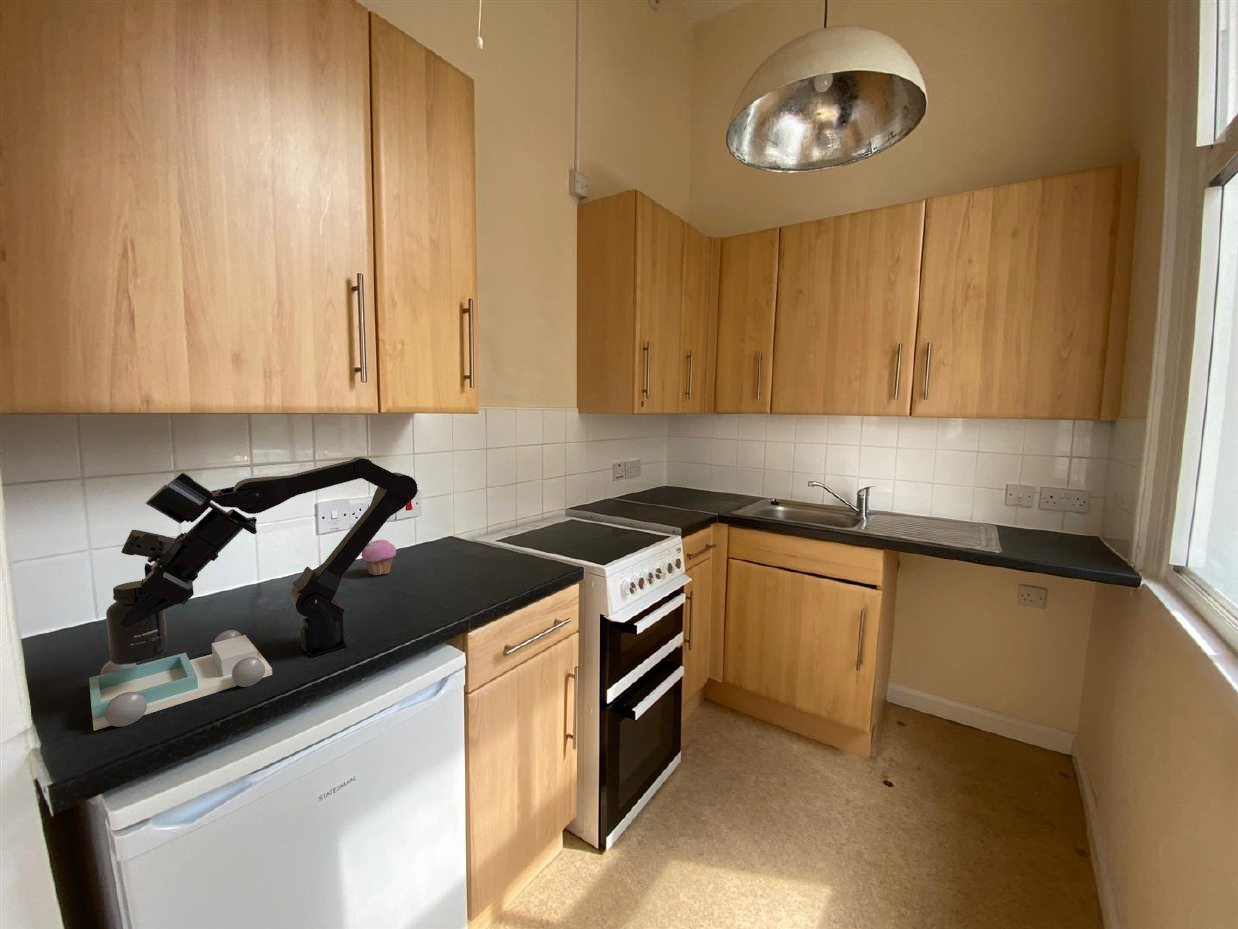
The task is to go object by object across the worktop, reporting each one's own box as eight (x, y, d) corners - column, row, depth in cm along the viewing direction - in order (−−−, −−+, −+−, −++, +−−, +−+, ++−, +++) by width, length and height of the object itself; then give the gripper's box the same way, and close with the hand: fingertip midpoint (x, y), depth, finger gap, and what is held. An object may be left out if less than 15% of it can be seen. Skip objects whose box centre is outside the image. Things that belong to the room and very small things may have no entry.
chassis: (250, 646, 100) (249, 625, 100) (274, 678, 89) (273, 654, 88) (90, 690, 84) (88, 665, 84) (94, 736, 73) (91, 707, 72)
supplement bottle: (147, 665, 80) (138, 591, 79) (98, 667, 79) (89, 593, 78) (179, 644, 87) (172, 576, 85) (134, 647, 86) (126, 578, 84)
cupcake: (389, 568, 151) (388, 535, 150) (401, 574, 145) (400, 540, 144) (357, 574, 145) (356, 540, 144) (369, 581, 139) (367, 546, 138)
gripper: (160, 503, 90) (77, 577, 84) (156, 520, 76) (57, 611, 70) (220, 539, 96) (147, 610, 90) (227, 561, 82) (141, 648, 76)
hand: (124, 618), depth 81 cm, fingers closed on supplement bottle, 7 cm apart
